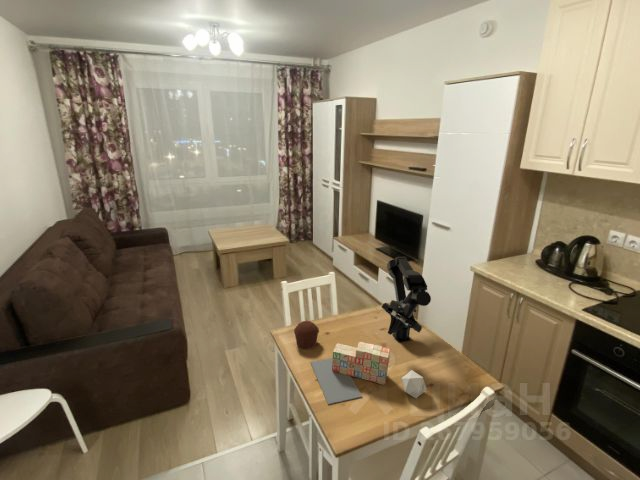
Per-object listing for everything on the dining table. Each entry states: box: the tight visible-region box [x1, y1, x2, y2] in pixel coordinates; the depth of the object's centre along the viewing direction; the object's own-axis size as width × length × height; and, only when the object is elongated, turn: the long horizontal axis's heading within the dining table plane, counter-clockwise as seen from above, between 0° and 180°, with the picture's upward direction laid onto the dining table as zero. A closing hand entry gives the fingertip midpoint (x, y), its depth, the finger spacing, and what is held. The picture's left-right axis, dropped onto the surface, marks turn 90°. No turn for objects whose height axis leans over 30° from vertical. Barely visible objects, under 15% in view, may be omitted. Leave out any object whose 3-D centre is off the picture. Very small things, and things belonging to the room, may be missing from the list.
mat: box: [309, 357, 363, 406], centre depth 132 cm, size 13×24×1 cm, turn 17°
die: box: [400, 369, 428, 399], centre depth 124 cm, size 8×9×10 cm
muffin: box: [293, 320, 320, 349], centre depth 153 cm, size 12×11×10 cm
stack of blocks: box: [332, 341, 391, 386], centre depth 133 cm, size 21×6×12 cm, turn 71°
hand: (388, 333), depth 138 cm, fingers closed
